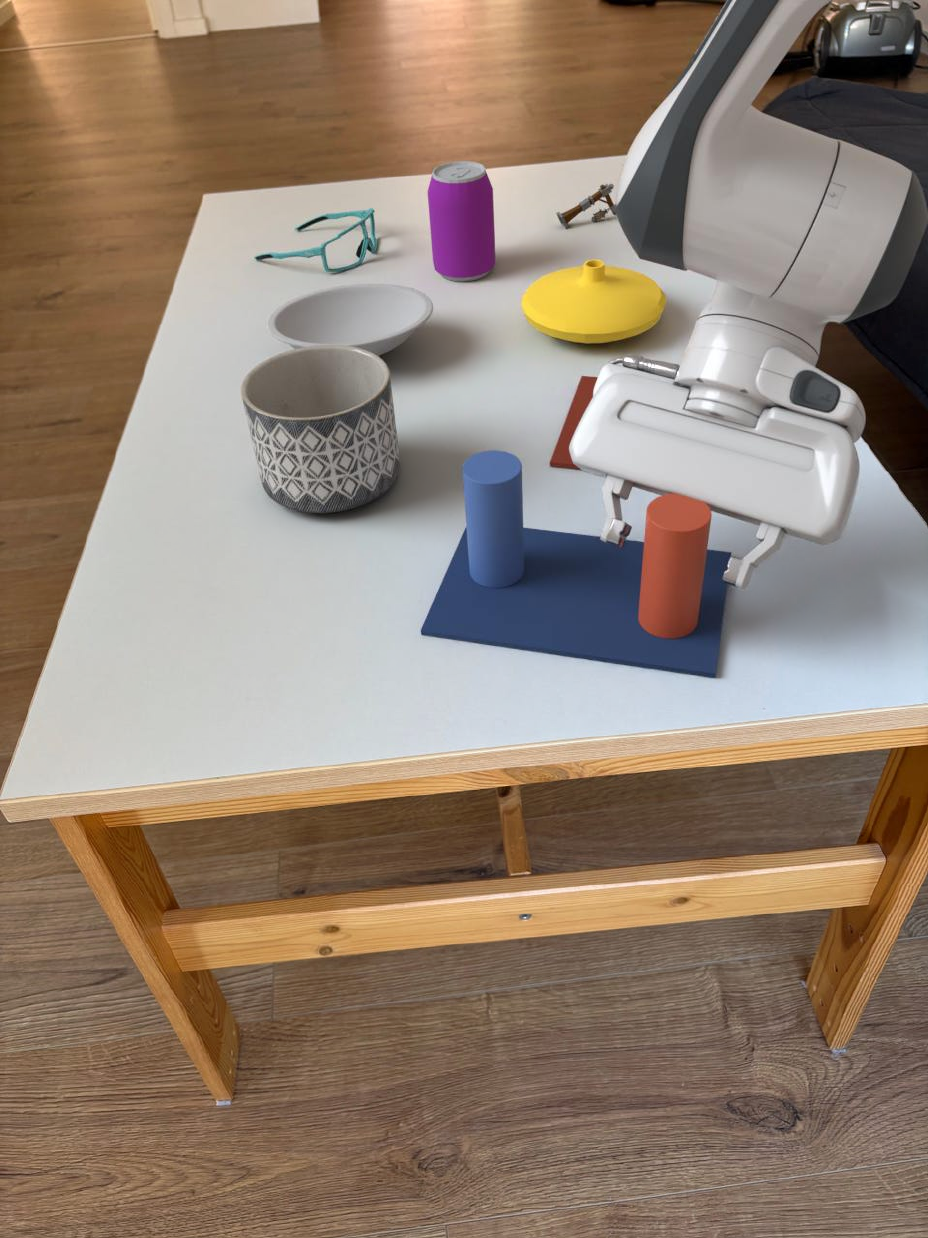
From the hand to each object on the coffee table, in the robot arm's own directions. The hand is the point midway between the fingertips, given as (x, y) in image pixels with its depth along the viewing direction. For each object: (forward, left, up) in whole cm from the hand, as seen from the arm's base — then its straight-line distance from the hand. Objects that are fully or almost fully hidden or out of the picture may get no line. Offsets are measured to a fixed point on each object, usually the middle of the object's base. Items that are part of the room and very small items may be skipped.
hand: (670, 564), depth 73 cm
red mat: (+4, -27, -6) cm, 28 cm away
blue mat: (+7, -2, -6) cm, 9 cm away
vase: (+14, -47, -6) cm, 50 cm away
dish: (+38, -36, -6) cm, 53 cm away
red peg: (0, 0, -6) cm, 6 cm away
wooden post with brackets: (+20, -76, -6) cm, 79 cm away
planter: (+32, -13, -6) cm, 35 cm away
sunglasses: (+52, -62, -6) cm, 81 cm away
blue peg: (+14, -3, -6) cm, 15 cm away
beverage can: (+32, -59, -6) cm, 68 cm away
